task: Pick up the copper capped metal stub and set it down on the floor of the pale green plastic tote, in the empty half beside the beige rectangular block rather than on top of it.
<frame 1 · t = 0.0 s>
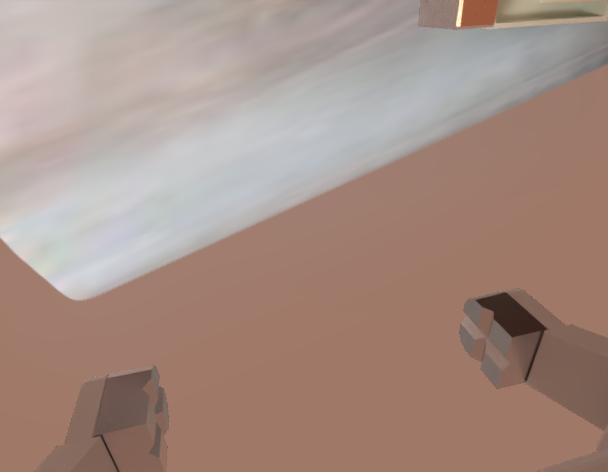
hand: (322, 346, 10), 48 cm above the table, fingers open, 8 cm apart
copper capped metal stub: (437, 4, 53), on the table
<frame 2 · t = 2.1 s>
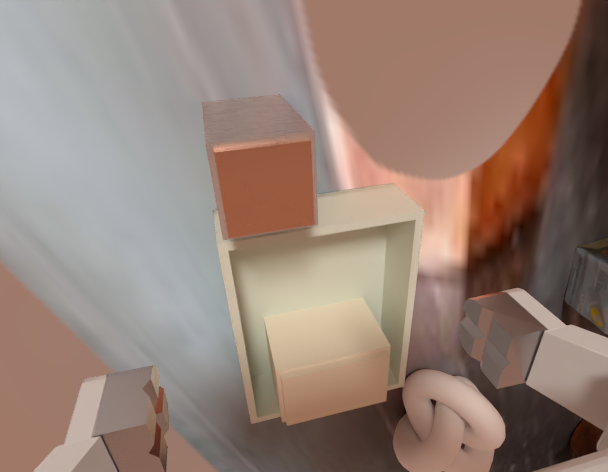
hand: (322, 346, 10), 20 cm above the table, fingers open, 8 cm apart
brown bucket: (604, 419, 61), on the table
beige rectangular block: (315, 332, 37), point 1 cm above the table, touching tote
pretzel: (426, 383, 46), on the table
copper capped metal stub: (246, 136, 27), on the table
tote: (312, 289, 35), on the table
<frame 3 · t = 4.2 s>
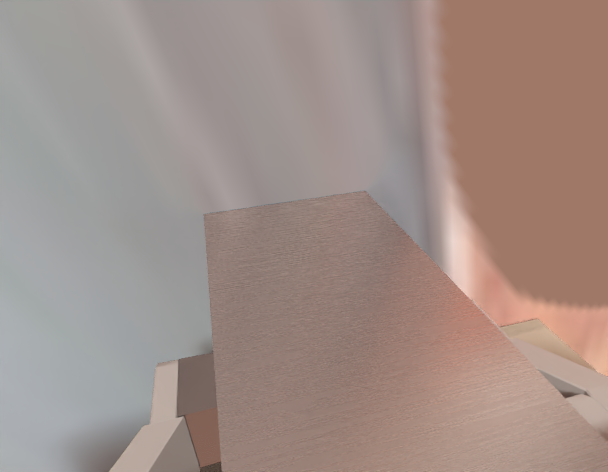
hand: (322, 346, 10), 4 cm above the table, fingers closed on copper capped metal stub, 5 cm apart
copper capped metal stub: (292, 269, 13), on the table, touching gripper
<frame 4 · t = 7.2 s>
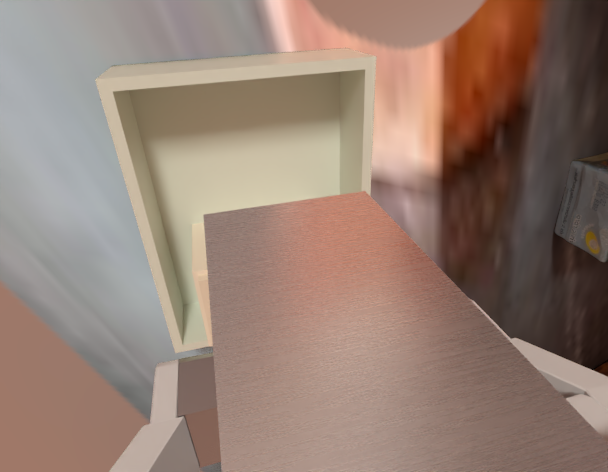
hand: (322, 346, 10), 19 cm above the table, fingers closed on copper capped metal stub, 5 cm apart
beige rectangular block: (259, 249, 31), point 1 cm above the table, touching tote
copper capped metal stub: (292, 270, 13), point 16 cm above the table, touching gripper
tote: (251, 192, 29), on the table
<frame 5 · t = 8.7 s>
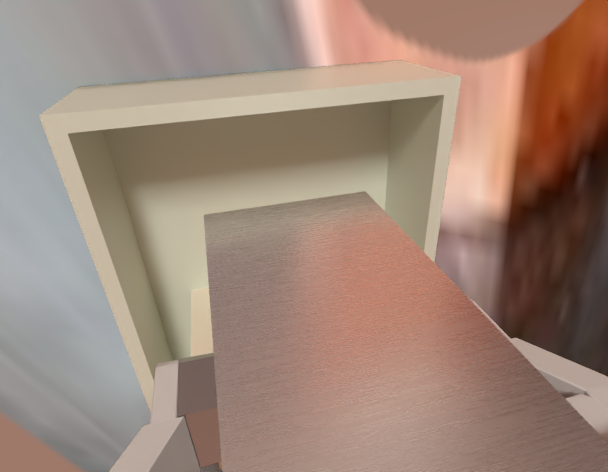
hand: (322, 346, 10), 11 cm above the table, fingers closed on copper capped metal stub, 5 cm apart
beige rectangular block: (278, 316, 24), point 1 cm above the table, touching tote
copper capped metal stub: (292, 270, 13), point 8 cm above the table, touching gripper
tote: (269, 247, 22), on the table
when the fingers open (6 cm above the table, at t = 10.1 s): copper capped metal stub drops 2 cm, resting on tote.
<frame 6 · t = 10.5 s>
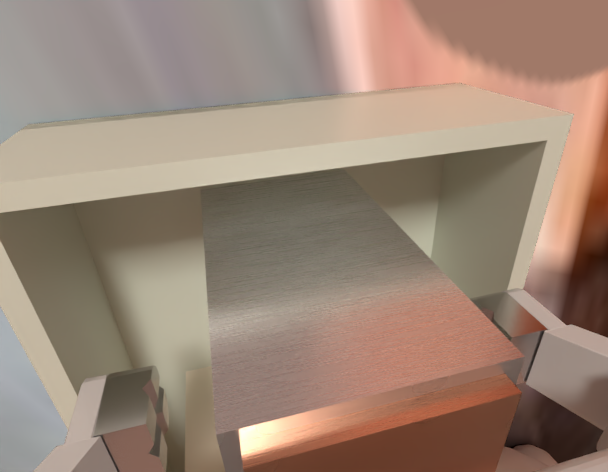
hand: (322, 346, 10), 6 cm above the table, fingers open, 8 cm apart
beige rectangular block: (293, 394, 19), point 1 cm above the table, touching tote
pretzel: (477, 457, 29), on the table
copper capped metal stub: (280, 241, 15), point 1 cm above the table, touching tote
tote: (284, 314, 17), on the table
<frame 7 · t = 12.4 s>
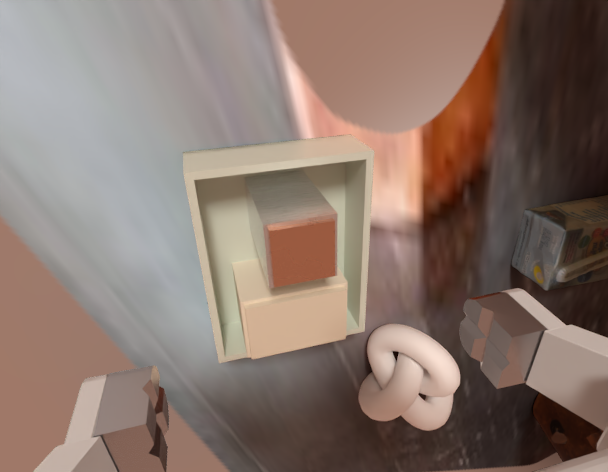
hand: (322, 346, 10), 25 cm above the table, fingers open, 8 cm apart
brown bucket: (564, 388, 65), on the table
beige rectangular block: (281, 281, 39), point 1 cm above the table, touching tote
pretzel: (390, 342, 49), on the table
copper capped metal stub: (275, 200, 35), point 1 cm above the table, touching tote
beverage carton: (580, 223, 48), on the table
tote: (277, 238, 37), on the table
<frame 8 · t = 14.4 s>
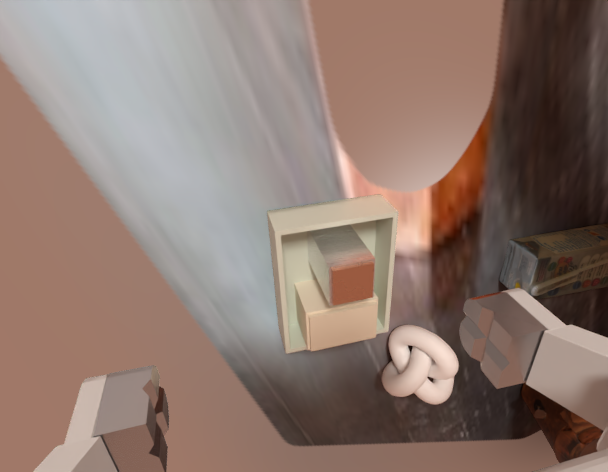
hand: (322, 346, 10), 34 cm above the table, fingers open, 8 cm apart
brown bucket: (548, 375, 79), on the table
beige rectangular block: (328, 294, 54), point 1 cm above the table, touching tote
pretzel: (406, 338, 63), on the table
copper capped metal stub: (327, 240, 49), point 1 cm above the table, touching tote
beverage carton: (554, 249, 62), on the table
tote: (326, 264, 52), on the table
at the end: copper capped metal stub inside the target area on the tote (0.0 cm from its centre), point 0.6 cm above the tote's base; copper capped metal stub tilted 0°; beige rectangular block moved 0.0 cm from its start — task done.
